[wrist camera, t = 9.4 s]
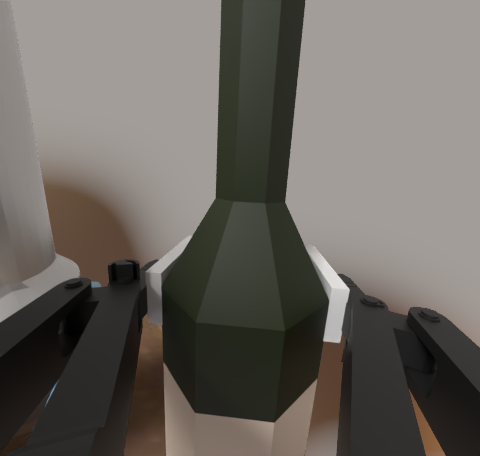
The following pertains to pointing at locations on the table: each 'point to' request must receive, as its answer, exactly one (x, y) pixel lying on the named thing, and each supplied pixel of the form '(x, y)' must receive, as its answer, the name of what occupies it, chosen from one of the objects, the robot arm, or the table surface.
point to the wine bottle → (246, 264)
